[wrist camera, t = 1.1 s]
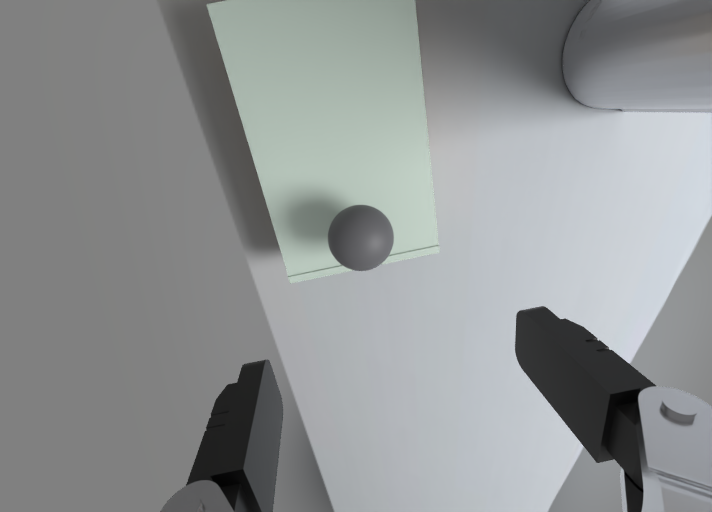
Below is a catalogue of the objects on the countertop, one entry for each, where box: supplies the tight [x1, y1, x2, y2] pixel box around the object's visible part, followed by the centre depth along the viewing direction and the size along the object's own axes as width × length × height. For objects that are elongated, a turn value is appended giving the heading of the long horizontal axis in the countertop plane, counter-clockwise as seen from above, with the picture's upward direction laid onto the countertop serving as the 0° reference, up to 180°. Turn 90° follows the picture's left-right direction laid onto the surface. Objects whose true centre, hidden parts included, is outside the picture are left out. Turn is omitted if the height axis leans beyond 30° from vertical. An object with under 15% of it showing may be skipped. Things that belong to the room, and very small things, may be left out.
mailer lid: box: [206, 0, 440, 284], centre depth 23 cm, size 19×12×9 cm, turn 11°
